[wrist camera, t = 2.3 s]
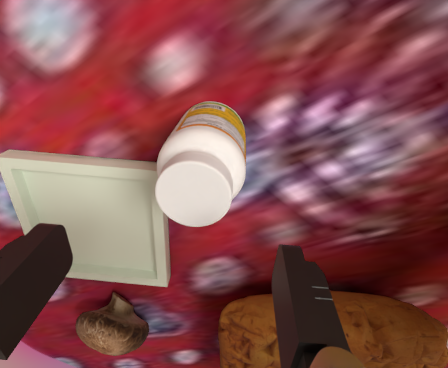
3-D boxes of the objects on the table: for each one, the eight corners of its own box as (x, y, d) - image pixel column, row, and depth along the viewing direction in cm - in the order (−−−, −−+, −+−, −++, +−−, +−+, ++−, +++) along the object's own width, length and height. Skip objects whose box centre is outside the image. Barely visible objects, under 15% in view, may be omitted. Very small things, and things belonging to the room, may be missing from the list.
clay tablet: (218, 350, 38) (212, 423, 31) (223, 258, 29) (217, 330, 22) (382, 365, 37) (414, 443, 30) (436, 275, 28) (499, 355, 21)
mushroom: (104, 291, 28) (82, 362, 26) (169, 301, 33) (155, 361, 30) (79, 285, 34) (59, 343, 31) (137, 294, 38) (124, 345, 36)
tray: (165, 162, 24) (160, 171, 23) (170, 275, 31) (167, 287, 30) (8, 149, 24) (-6, 156, 23) (49, 263, 31) (39, 274, 30)
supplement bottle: (211, 174, 24) (193, 253, 16) (166, 130, 23) (119, 191, 14) (259, 136, 22) (268, 202, 14) (213, 84, 21) (192, 124, 12)
